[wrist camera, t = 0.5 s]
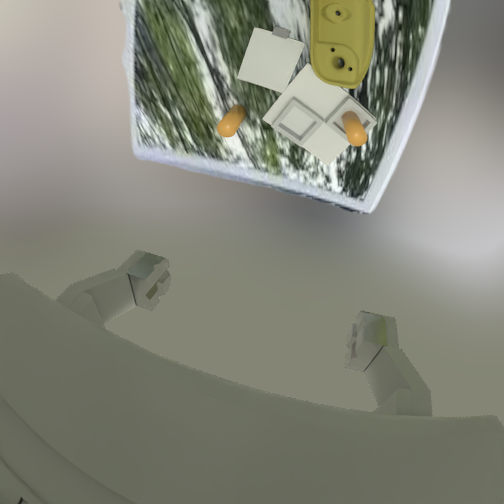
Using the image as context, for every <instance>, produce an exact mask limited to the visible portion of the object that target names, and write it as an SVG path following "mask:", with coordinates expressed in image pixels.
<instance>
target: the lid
mask: <svg viewBox="0 0 504 504" xmlns="http://www.w3.org/2000/svg"><path fill="white" fill-rule="evenodd" d="M289 33H290V31H289V30H286V29H283V28H280V27H277V26H275V27H274V30H273V32H270V31H267V30H264V29H260V28H257V27H255V28H254V31H253V34H252V36H251V39H250V42H249V45H248V47H247V50H246V53H245V56H244V59H243V62H242V65H241V68H240V71H239V74H238V77H237V78H238V79H241V80H244V81H248V82H251V83H254V84H257V85H260V86H263V87H266V88H269V89H272V90H275V91H277V92H280V93H283V92H284V90H285V89H286V88H287V86H288V83H289V81H290V79H291V76H292V74H293V71H294V69H295V67H296V64H297V62H298V60H299V57H300V55H301V53H302V50H303V48H304V46H305V43H303V42H300V41H297V40H295V39H292V38H289V37H288V36H289Z"/></svg>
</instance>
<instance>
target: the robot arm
mask: <svg viewBox="0 0 504 504" xmlns="http://www.w3.org/2000/svg"><path fill="white" fill-rule="evenodd" d="M168 267H169V260H168V259H166V258H163V257H160V256H157V255H154V254H151V253H147V252H145V251H142V250H136V251H135V252H134V253H133V254H132V255H131V256H130V257H129V258H128V259H127V260H126V261H125V262H124V263H123V264H122V265H121V266H120V267H119V268H118V269H117V270H116V269H112V270H109V271H106V272H103V273H101V274H98V275H95V276H92V277H89V278H86V279H84V280H81V281H78V282H75V283H73V284H71V285H70V286H69V287H68V288H67V289H66V290H65V291H64V292H63V293H62V294H61V295H60V296H59V297H58V298H57V299H56V300H54V299H52V298H50V297H49V296H48V295H46V294H44V293H43V292H41V291H40V290H38V289H37V288H35V287H34V286H32V285H31V284H30V283H28V282H27V281H25V280H24V279H22V278H21V277H20V276H18V275H17V274H15V273H12V272H11V273H6V274H2V275H0V504H504V426H503V424H502V422H501V421H500V420H499V419H498V417H497V416H494V415H486V416H485V415H484V416H466V417H432V405H431V391H430V389H429V388H428V386H427V385H426V383H425V382H424V380H423V379H422V377H421V376H420V375H419V373H418V372H417V370H416V369H415V367H414V366H413V364H412V363H411V362H410V360H409V359H408V357H407V356H406V354H405V353H404V352H403V350H402V349H399V344H398V335H397V327H396V319H395V318H394V317H390V316H385V315H379V314H374V313H370V312H365V311H360V312H359V313H358V315H357V321H356V323H354V324H353V325H352V327H351V329H350V331H349V334H348V339H347V347H348V349H349V351H348V352H347V354H346V362H345V368H348V369H352V370H357V371H362V372H364V375H365V377H366V379H367V381H368V384H369V386H370V388H371V390H372V393H373V395H374V397H375V399H376V401H377V404H378V406H379V407H378V408H377V409H376V410H374V411H373V412H367V411H360V410H353V409H346V408H340V407H334V406H328V405H324V404H318V403H313V402H309V401H304V400H299V399H295V398H291V397H287V396H282V395H278V394H274V393H271V392H267V391H263V390H260V389H256V388H253V387H249V386H246V385H242V384H239V383H236V382H232V381H230V380H226V379H223V378H220V377H217V376H214V375H212V374H209V373H206V372H203V371H200V370H197V369H195V368H192V367H189V366H187V365H184V364H182V363H179V362H177V361H174V360H172V359H169V358H167V357H164V356H162V355H160V354H157V353H155V352H153V351H150V350H148V349H146V348H144V347H141V346H139V345H137V344H135V343H133V342H131V341H129V340H126V339H124V338H122V337H120V336H118V335H116V334H114V333H112V332H110V331H108V330H106V328H105V326H104V323H106V322H108V321H110V320H112V319H113V318H115V317H117V316H119V315H121V314H123V313H125V312H126V311H128V310H130V309H132V308H134V307H135V306H136V305H137V306H139V307H142V308H145V309H148V310H150V311H152V310H153V309H154V308H155V306H156V305H157V304H158V302H159V296H162V295H164V294H165V293H166V292H167V290H168V288H169V286H170V281H171V276H170V273H169V272H168V270H167V269H168Z"/></svg>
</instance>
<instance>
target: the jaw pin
mask: <svg viewBox="0 0 504 504" xmlns="http://www.w3.org/2000/svg"><path fill="white" fill-rule="evenodd" d="M246 114H247V111H246V109H245V108H244V107H243V106H242V105H234V106H233V107H232V108H231V109H230V110H229V111H228V113H227V114H226V115H225V116H224V117H223V119H222V120H221V121H220V122H219V124H218V126H217V130H218V133H219V134H220V135H221V136H223V137H231V136H233V135H234V134H235V132H236V131H237V129H238V128H239V126H240V124H241V123H242V121H243V120H244V118H245V116H246Z"/></svg>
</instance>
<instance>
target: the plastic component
mask: <svg viewBox="0 0 504 504" xmlns="http://www.w3.org/2000/svg"><path fill="white" fill-rule="evenodd" d="M336 11H338V12H339V13H340V15H339V16H337V15H336V13H335V12H336ZM374 30H375V7H374V3H373V1H372V0H311V28H310V59H311V65H312V69H313V71H314V73H315V74H316V76H317V77H318V78H319V79H320V80H322V81H323V82H325V83H327V84H330V85H333V86H339V87H344V88H349V89H353V88H356V87H358V85H359V84H360V83H361V81H362V80H363V78H364V76H365V74H366V72H367V70H368V67H369V65H370V61H371V57H372V53H373V46H374ZM332 48H334V49H335V51H334V52H332V50H331V49H332ZM340 58H343V60H344V62H345V65H344V67H343V68H341V67H340V66H339V63H338V61H339V59H340ZM349 68H352V71H349Z"/></svg>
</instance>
